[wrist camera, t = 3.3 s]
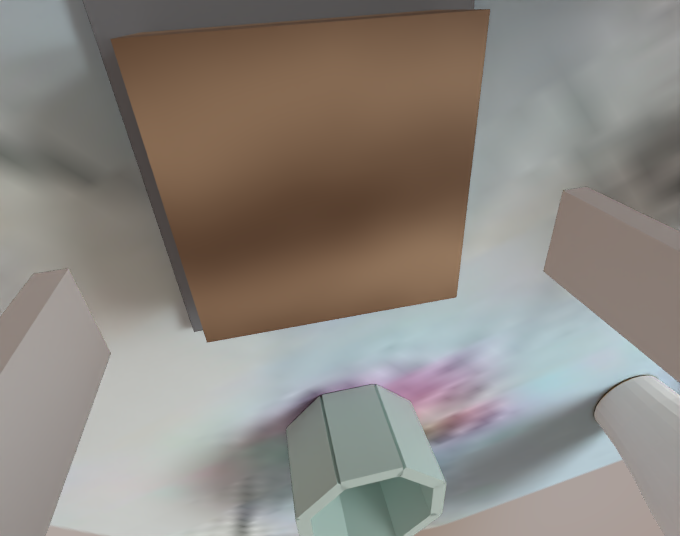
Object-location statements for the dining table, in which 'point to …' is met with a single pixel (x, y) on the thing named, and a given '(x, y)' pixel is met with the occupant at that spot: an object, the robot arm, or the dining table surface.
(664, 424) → the cup
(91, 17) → the mat
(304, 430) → the bowl
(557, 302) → the dining table surface
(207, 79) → the board
